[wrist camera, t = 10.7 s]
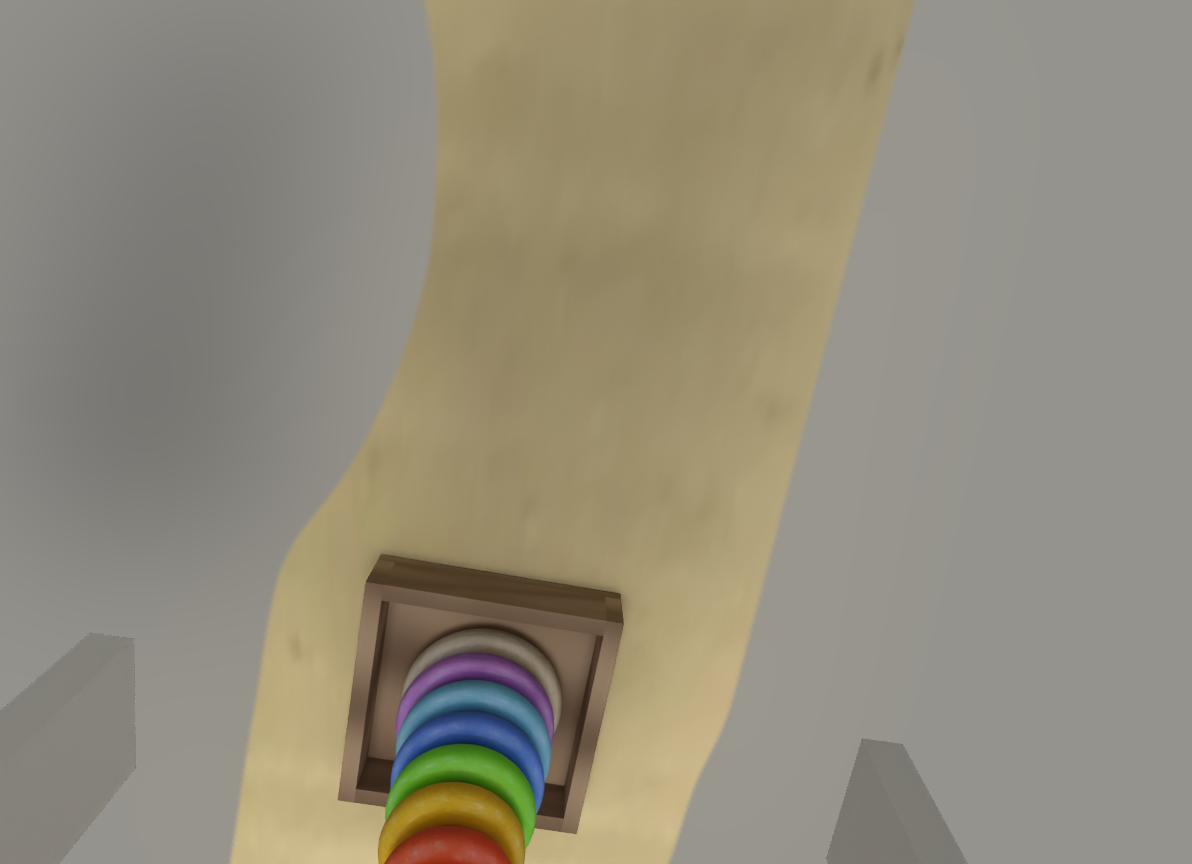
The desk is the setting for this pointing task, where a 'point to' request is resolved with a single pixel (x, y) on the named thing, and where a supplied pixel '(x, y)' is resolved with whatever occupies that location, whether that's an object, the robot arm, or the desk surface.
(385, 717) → the walnut open square tray
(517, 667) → the stacking toy
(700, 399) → the desk surface
